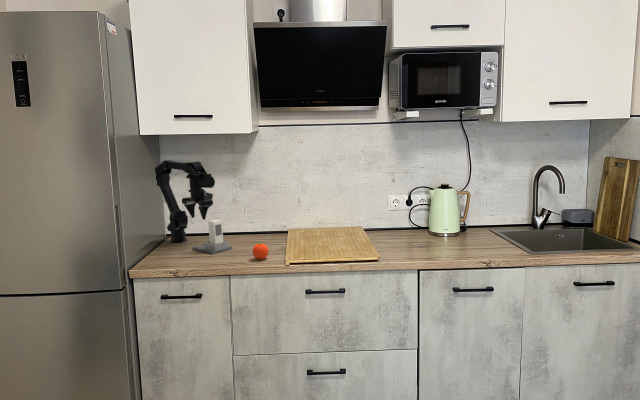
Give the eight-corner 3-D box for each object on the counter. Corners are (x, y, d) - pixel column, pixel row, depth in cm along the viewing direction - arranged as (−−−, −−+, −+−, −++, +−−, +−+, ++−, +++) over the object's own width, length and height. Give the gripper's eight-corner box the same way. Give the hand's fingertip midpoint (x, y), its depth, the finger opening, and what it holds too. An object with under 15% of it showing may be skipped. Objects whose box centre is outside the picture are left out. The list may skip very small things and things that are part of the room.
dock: (192, 249, 234) (191, 240, 233) (211, 244, 242) (211, 236, 241) (212, 254, 223) (211, 245, 223) (232, 249, 231) (231, 240, 231)
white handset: (210, 248, 230) (208, 221, 228) (218, 246, 233) (216, 219, 231) (216, 249, 227) (214, 222, 225) (224, 247, 230) (221, 220, 228)
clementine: (251, 257, 215) (250, 241, 214) (266, 255, 217) (265, 239, 216) (254, 262, 208) (253, 245, 207) (270, 260, 210) (269, 243, 209)
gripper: (220, 186, 239) (223, 217, 241) (199, 184, 252) (201, 214, 254) (201, 189, 231) (204, 221, 233) (179, 187, 243) (182, 218, 246)
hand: (198, 218), depth 242 cm, fingers open, 9 cm apart
